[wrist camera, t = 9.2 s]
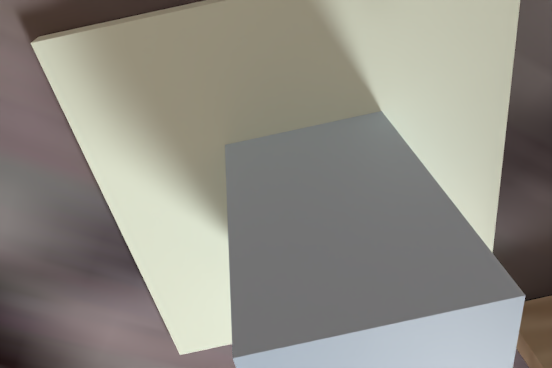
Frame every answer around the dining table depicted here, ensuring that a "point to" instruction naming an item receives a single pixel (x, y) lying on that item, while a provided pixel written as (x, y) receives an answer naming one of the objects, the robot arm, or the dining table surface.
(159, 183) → the pad
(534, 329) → the u-shaped wooden frame
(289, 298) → the block
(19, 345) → the dining table surface
